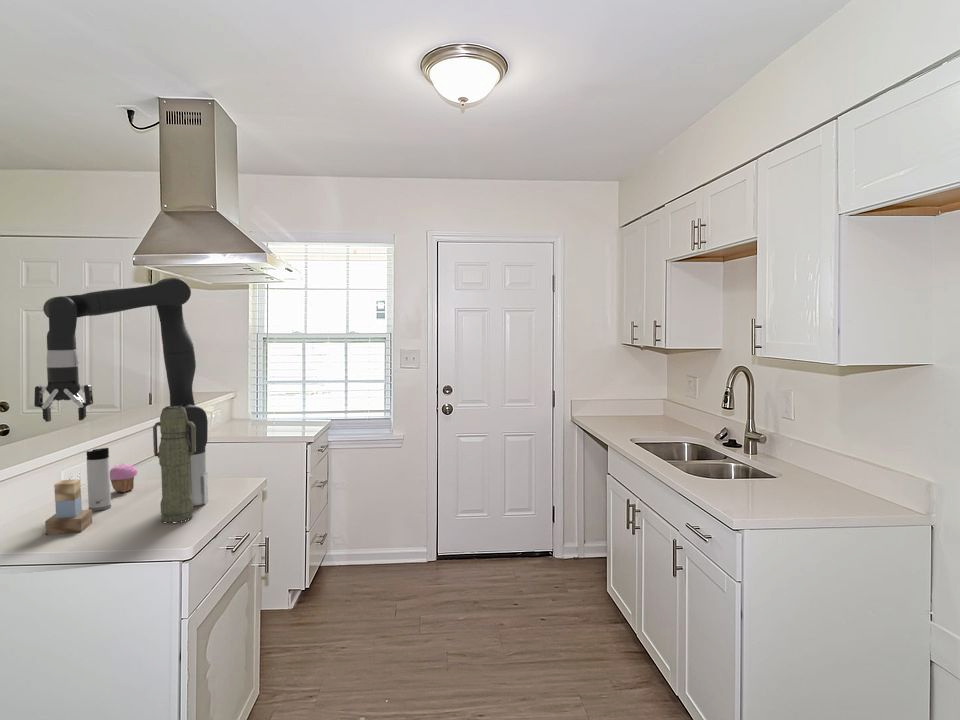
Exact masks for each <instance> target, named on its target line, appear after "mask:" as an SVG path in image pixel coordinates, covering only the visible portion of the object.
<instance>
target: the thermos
mask: <svg viewBox="0 0 960 720" xmlns="http://www.w3.org/2000/svg"><path fill="white" fill-rule="evenodd" d="M160 412H161V413H160V416H159V421H158V422H155V424H154V425H153V426H152V438H153V454H154V457H157V458H158V464H159V466H160V471H161V472H160V473H161V474H160V475H161V495H162V496H161V499H160V500H161V501H160V514H161V522H162V523H163V522H166V523H165V524H167V523H173V522H181V521H185V520H188V519H191V518H192V517H193V518H194V516H193V510H194V506H193V498H192V495H191V488H190V463H191V455H193V454H194V453H195V452H196V426H195V424H194V423H193V422H192V421H189V420H188V415H187V412H186V410H185V407H182V406H170V405H169V406H165V407H163V408H162V409H161V411H160ZM188 424H189V425H190V427H191V444H192V450H191V444H190V442H189V439H188V432H187V431H188ZM158 426H159V427H160V434H161V435H160V443H159V445H158ZM193 518H192V519H193ZM192 519H191V520H192ZM188 521H189V520H188Z"/></svg>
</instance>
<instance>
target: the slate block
mask: <svg viewBox="0 0 960 720" xmlns="http://www.w3.org/2000/svg"><path fill="white" fill-rule="evenodd" d="M54 502H55V501H54ZM82 506H83V505H82V495H81V496H80V497H78V498H77V499H76V500H71V501H56V502H55V514H56V518H69V517H76V516H78V515H79V514H80V513H81V512H82V510H83V507H82Z"/></svg>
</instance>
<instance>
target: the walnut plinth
mask: <svg viewBox="0 0 960 720" xmlns="http://www.w3.org/2000/svg"><path fill="white" fill-rule="evenodd" d="M44 522H45V523H44V524H45V525H44V528H45V535H46V534H51V535H61V534H60V533H63V534H72V533H73V534H74V533H75V534H76V533H82V532H83V531H85V529H87V528H88V527H90V525H92V523H93V511H92V510H89V509H82V512H81V513H80V514H79V515H78V516H76V517H69V518H56V513H54V514H53V515H52V516H51V517H48V519H46V520H45V521H44Z"/></svg>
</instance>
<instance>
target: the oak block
mask: <svg viewBox="0 0 960 720" xmlns="http://www.w3.org/2000/svg"><path fill="white" fill-rule="evenodd" d="M81 484H82V483H81V478H80V479H79V478H78V479H77V478H75V479H61V480H60V481H58V482H56V483H55V484H53V485H54V486H53V487H54V502H56V501H71V500H76V499H77V498H78V497H80V496H81V497H82V488H81Z"/></svg>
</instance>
